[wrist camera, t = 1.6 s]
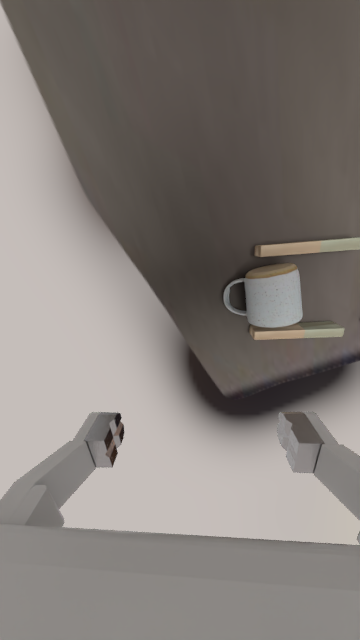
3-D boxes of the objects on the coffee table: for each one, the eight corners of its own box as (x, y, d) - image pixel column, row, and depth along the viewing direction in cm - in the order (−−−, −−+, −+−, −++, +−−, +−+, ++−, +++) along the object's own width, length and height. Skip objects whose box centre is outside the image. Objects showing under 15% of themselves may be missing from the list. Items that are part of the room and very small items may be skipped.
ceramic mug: (285, 258, 30) (312, 263, 23) (288, 306, 32) (313, 323, 25) (218, 275, 32) (224, 284, 24) (226, 319, 34) (234, 338, 27)
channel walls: (254, 245, 29) (261, 245, 26) (351, 237, 28) (369, 236, 25) (249, 332, 35) (254, 339, 32) (330, 328, 33) (342, 336, 31)
